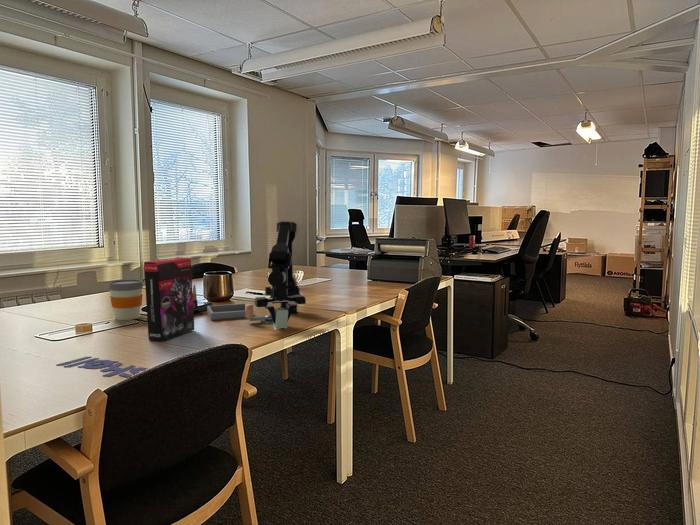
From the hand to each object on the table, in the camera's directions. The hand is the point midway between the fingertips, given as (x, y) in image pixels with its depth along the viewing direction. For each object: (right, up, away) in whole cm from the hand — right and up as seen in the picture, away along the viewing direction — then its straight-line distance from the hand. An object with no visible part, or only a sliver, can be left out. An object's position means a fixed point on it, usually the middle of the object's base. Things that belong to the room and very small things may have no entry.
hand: (280, 322), depth 183 cm
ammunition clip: (-44, +1, +24) cm, 50 cm away
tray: (-24, +1, +20) cm, 32 cm away
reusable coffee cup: (-65, 0, +14) cm, 66 cm away
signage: (-43, -7, -47) cm, 64 cm away
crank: (-9, 0, +7) cm, 12 cm away
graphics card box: (-37, -3, -12) cm, 39 cm away
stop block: (0, -2, 0) cm, 2 cm away
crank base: (-4, -1, +4) cm, 6 cm away
